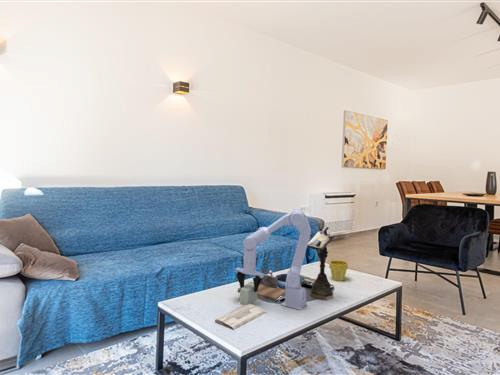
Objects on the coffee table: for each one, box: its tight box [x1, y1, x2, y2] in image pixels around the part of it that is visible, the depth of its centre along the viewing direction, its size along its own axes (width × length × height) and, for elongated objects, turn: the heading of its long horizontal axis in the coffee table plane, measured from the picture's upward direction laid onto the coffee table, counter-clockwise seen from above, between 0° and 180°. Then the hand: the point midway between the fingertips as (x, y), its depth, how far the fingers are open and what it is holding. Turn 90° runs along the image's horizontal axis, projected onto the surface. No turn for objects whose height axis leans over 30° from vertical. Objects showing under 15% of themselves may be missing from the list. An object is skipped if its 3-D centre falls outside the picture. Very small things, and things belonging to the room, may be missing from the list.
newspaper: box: [214, 303, 268, 331], centre depth 153 cm, size 23×12×2 cm, turn 141°
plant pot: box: [328, 259, 349, 282], centre depth 204 cm, size 10×10×10 cm
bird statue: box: [307, 226, 336, 301], centre depth 176 cm, size 17×13×35 cm
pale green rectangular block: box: [239, 282, 258, 305], centre depth 170 cm, size 4×9×7 cm, turn 148°
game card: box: [260, 269, 273, 284], centre depth 197 cm, size 7×5×9 cm
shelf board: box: [237, 274, 285, 302], centre depth 182 cm, size 22×13×7 cm, turn 58°
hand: (248, 289), depth 170 cm, fingers open, 7 cm apart
